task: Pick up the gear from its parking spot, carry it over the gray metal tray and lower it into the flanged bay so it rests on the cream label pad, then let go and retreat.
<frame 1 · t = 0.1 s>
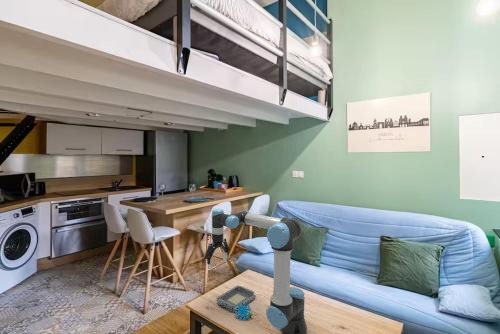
hand: (217, 265, 163), 28 cm above the table, fingers open, 13 cm apart
gray metal tray: (236, 301, 171), on the table
gear: (243, 317, 154), on the table
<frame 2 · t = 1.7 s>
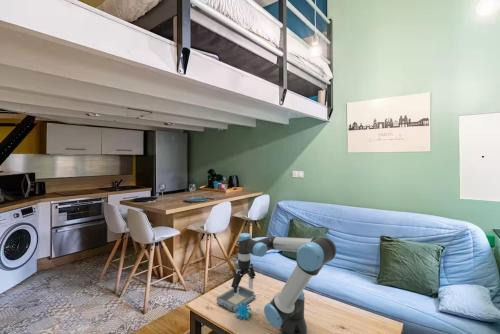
hand: (243, 293, 154), 15 cm above the table, fingers open, 13 cm apart
nothing on the table moved.
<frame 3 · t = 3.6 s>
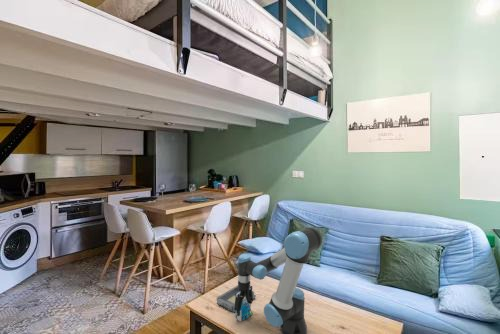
hand: (243, 316, 154), 0 cm above the table, fingers closed on gear, 8 cm apart
gear: (243, 317, 154), on the table, touching gripper
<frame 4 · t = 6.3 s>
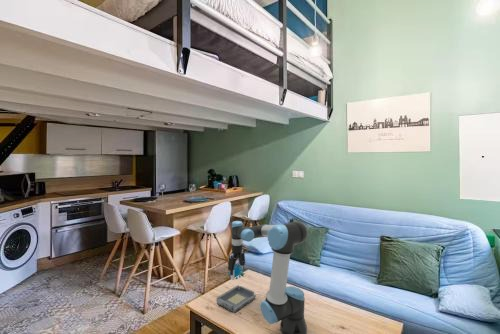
hand: (236, 277, 170), 17 cm above the table, fingers closed on gear, 8 cm apart
gear: (236, 277, 171), point 16 cm above the table, touching gripper
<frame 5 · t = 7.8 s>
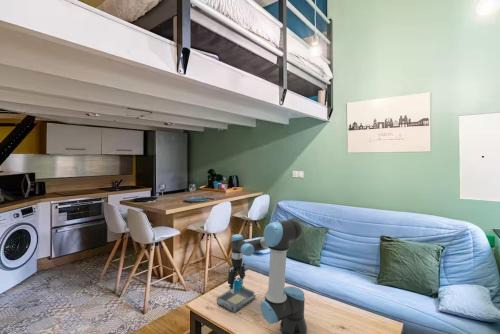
hand: (236, 290, 171), 8 cm above the table, fingers closed on gear, 8 cm apart
gear: (236, 290, 171), point 7 cm above the table, touching gripper
when the fingers open (3 cm above the table, at t = 9.1 s): gear drops 2 cm, resting on gray metal tray.
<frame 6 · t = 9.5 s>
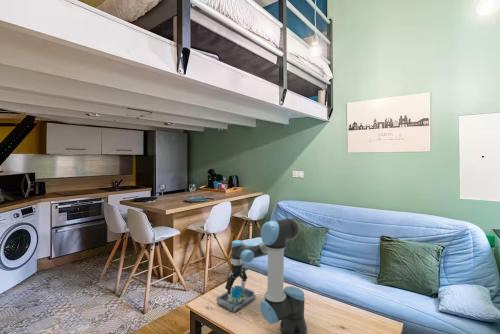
hand: (236, 294, 171), 5 cm above the table, fingers open, 13 cm apart
gear: (236, 299, 171), point 1 cm above the table, touching gray metal tray
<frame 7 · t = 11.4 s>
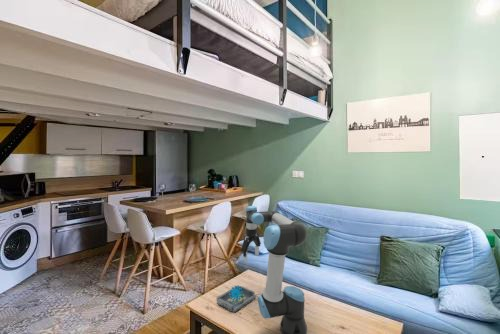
hand: (251, 257, 177), 27 cm above the table, fingers open, 13 cm apart
nothing on the table moved.
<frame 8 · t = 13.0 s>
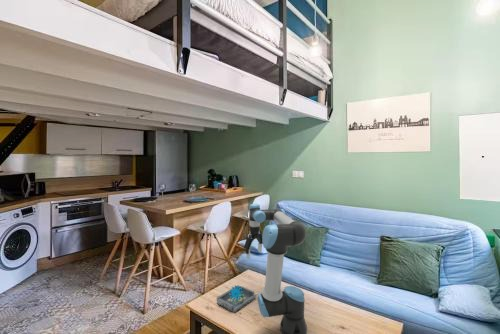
hand: (254, 255, 178), 29 cm above the table, fingers open, 13 cm apart
nothing on the table moved.
at the end: gear inside the target area on the gray metal tray (0.2 cm from its centre), point 1.3 cm above the gray metal tray's base; the gripper is holding nothing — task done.
